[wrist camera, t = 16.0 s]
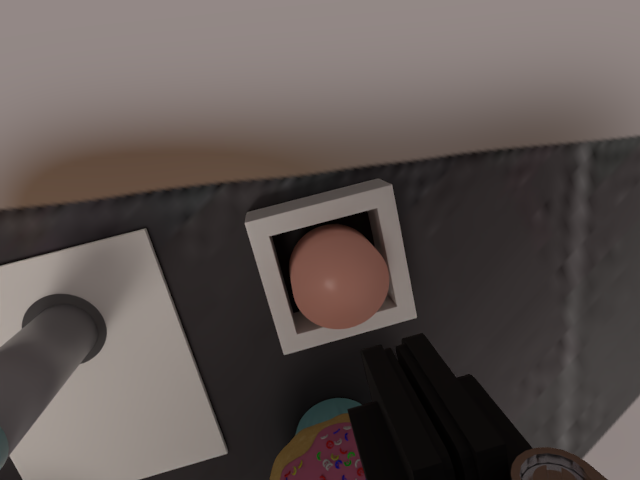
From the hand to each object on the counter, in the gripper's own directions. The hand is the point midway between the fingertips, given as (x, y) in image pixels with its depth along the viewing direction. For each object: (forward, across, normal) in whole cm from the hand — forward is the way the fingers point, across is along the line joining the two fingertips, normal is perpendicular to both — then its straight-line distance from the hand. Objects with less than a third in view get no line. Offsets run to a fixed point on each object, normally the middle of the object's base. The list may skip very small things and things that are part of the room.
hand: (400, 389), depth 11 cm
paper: (+12, +14, +3) cm, 19 cm away
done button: (+11, 0, 0) cm, 11 cm away
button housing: (+12, 0, 0) cm, 12 cm away
